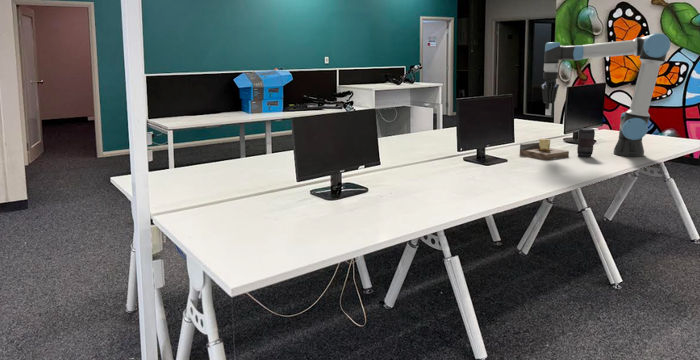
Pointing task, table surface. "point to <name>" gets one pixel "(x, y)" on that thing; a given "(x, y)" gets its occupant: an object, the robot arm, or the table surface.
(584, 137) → the camera lens
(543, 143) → the brass sleeve
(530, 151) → the plate
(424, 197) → the table surface
